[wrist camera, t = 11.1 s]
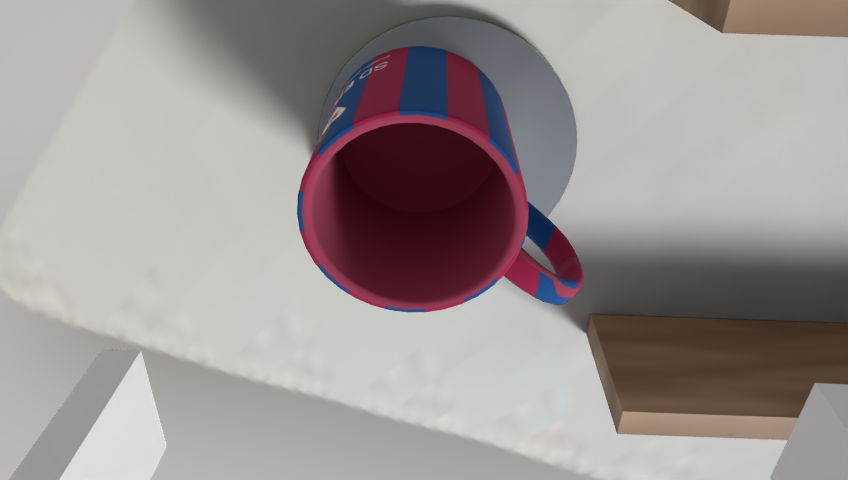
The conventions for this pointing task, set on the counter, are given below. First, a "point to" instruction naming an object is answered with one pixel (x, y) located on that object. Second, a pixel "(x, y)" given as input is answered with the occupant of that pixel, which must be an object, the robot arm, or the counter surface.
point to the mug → (425, 190)
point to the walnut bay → (723, 338)
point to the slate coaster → (514, 81)
